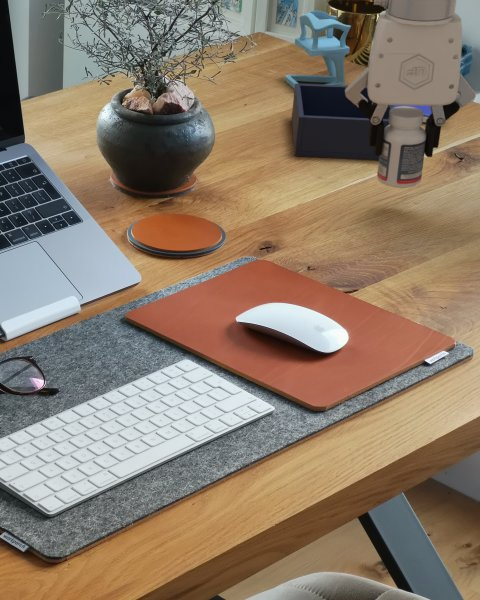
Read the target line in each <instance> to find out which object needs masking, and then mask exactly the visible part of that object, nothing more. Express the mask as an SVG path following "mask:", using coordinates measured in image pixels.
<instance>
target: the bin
mask: <svg viewBox="0 0 480 600" xmlns="http://www.w3.org/2000/svg"><path fill="white" fill-rule="evenodd" d="M348 86H349V85H345V86H342V85H324V84H317V83H316V84H315V83H298V84H295V89H293V90H294V91H293V100H292V101H293V102H292V111H291V129H292V141H293V142H292V143H293V150H294V157H308V158H326V159H327V158H329V159H344V160H345V159H347V160H364V161H365V160H366V161H379V156H375V154H374V150H373V146H369V144H368V141H369V131H370V122H371V121H370V120H369V119H368V118H367V117H366V116H365V115H364V114H363V112H362V111H361V110H360V109H359V108H358V107H357V106H356V105H355V104H353V103H352V102H351V101H350V100H349V99H348V98H347V97H346V95H345V89H346V88H347V87H348ZM360 93H361V94H362V95H363V96H364V97H366V98H367V99H368V100H369V101H370V102H371V103H373V101H371V100H370V98H369V96H368V90H367V87H365V88H364V89H363V90H362V91H361V92H360ZM392 108H395V106H394V105H388V107H387V109H386V111H385V114H384V116H383V122H384V126H385V127H386V126H388V125H390V124H389V121H388V118H389V111H390V110H391V109H392Z"/></svg>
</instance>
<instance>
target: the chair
mask: <svg viewBox="0 0 480 600" xmlns="http://www.w3.org/2000/svg"><path fill="white" fill-rule="evenodd" d="M337 18H338V16H337V15H331V14H329V13H326V12H325V11H322V10H311V11H309V12H308V11H307V12H306V13H304V14H302V15H301V16H299V26H300V31H301V32H300V36H299V37H295V39H294V45H295V46H297V47H298V48H301V49H302V50H303V51H304V52H305V53H306V54H307V55H308V56H309V57H322V59H323V61H324V63H325V66H326V69H327V71H328V74H329V75H322V74H321V75H319V74H286V75H285V76H284V77H285V79H284V80H285V82H286V84H288V85H289V86H290V87H291V88H293V90H295V84H299V82H303V83H304V82H306V83H325V84H323V85H342V86H346V75H345V57H346V55H348V54H350V52H351V51H350V50H351V48H350V47H349V46H348V45H346V39H347V35H348V34H349V31H350V29H351V27H352V25H349V24H344V23H342V22H340V21H338V20H337ZM306 27H308V28H309V29H310V30H311V32H312V37H307V28H306ZM334 29H337V30H340V31H342V32H343V33H342V34H341V36H340V38H339V39H338V38H337V37H336V36H334ZM325 31H327V35H325V36H319V34H320V33H322V32H325Z"/></svg>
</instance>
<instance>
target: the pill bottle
mask: <svg viewBox="0 0 480 600" xmlns="http://www.w3.org/2000/svg"><path fill="white" fill-rule="evenodd" d="M423 116H424V113H423V111H422V110H420V109H418V108H414V107H408V106H400V107H395V108H392V109H391V110H390V111H389V118H388V121H389V124H390V125H388V126H386V127H385V128H384V137H383V145H382V153H381V155H380V156H379V160H378V164H377V174H376V178H377V180H378V181H379V182H380V184H382V185H385V186H387V187H391V188H396V189H406V188H407V189H408V188H413V187H416V186H417V185H419V184H420V183H421V182H422V176H423V169H424V159H425V146H426V137H427V135H426V132H425V128H423V127H422V126H423V124H424V122H423Z"/></svg>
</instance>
